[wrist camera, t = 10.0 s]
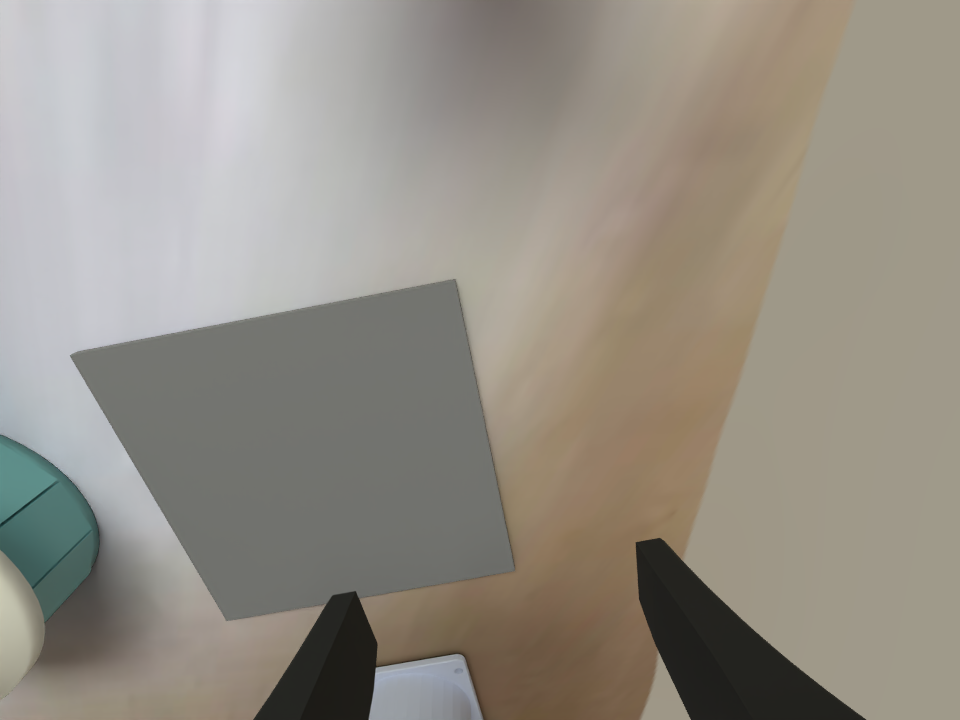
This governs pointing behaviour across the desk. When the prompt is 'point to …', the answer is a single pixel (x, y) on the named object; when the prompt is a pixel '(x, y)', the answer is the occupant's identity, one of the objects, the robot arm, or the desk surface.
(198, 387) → the mat
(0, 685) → the lid
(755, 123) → the desk surface
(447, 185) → the desk surface
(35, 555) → the bowl
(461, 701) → the robot arm
